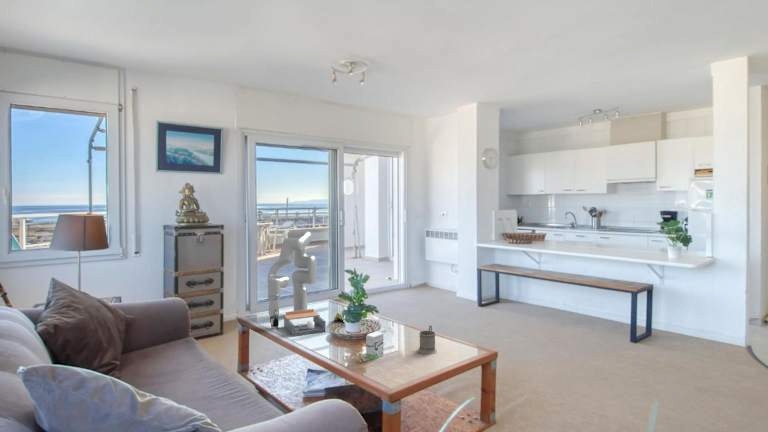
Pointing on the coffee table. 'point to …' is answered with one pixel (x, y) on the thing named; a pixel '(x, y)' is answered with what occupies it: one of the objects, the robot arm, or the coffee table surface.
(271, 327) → the peg
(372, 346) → the ink box
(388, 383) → the coffee table surface
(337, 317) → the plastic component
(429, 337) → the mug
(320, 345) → the coffee table surface
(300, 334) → the housing
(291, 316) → the lid
